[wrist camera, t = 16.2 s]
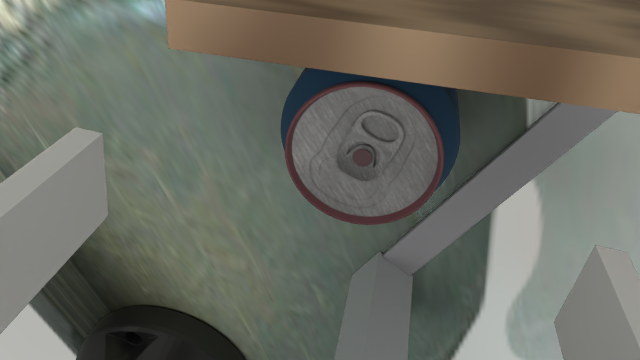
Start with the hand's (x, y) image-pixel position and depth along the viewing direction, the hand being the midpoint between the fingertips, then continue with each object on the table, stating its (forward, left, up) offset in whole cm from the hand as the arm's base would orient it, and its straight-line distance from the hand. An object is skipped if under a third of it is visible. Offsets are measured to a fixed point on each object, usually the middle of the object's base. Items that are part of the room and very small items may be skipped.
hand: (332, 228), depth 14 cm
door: (+6, -1, -16) cm, 18 cm away
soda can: (-1, -1, -18) cm, 18 cm away
